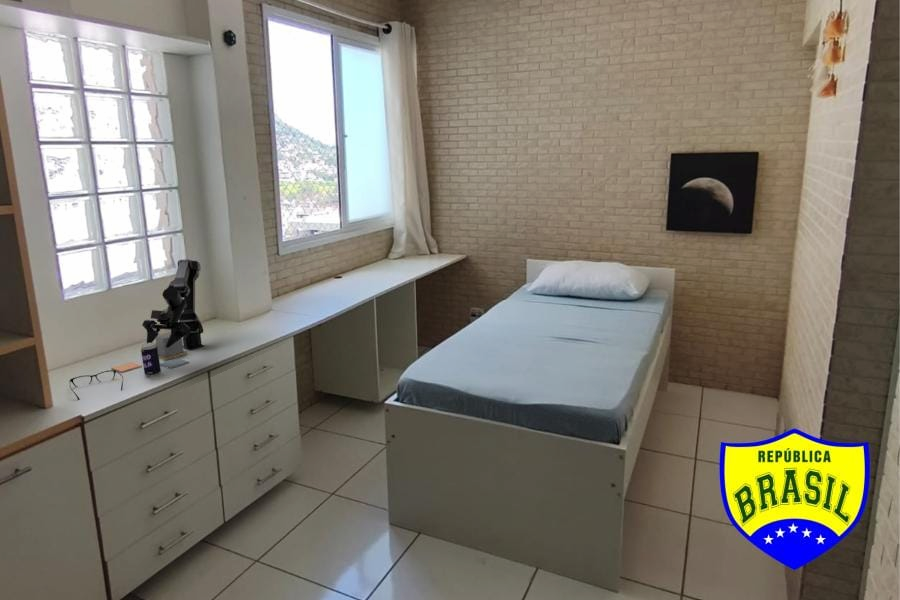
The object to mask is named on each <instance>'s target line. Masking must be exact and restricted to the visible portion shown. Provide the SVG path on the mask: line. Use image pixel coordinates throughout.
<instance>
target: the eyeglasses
mask: <svg viewBox="0 0 900 600" xmlns="http://www.w3.org/2000/svg"><path fill="white" fill-rule="evenodd" d="M108 372H112V373H113V377H112V379H111V381H112V380H114V379H115V377H116V374H119V375H120V376H121V377H122V379H124V377H123V375H122V373H120V372H118V371H116V370H113V369H111V370H105V371H101V372H98V373H96V374H91V375H79V376H75V377H73V378H70V380H69V382H68V383H72V385H74V387H75V388H78V387H79V386H78V385H76V384H75V382H74V380H75V379H78V378H83V377H90V381H89V383H88V385H90V384H91V383H92V382H93V378H94V377H95V379H96V381H97V382H98V381H99V383H101V382H102V381H101V380H100V379H99V378H98V376H99V375H100V374H103V373H108ZM123 385H124V380H122V381H121V387H120V391H121V390H122V391H123V387H124V386H123ZM69 388H70V389H71V392H73V394H74V395H75V397H76V398H77V400H78V401H80V399H81V398H79V396H78V394H77V393H76V392H75V391H74V390H73V388H72V386H71V385H69Z"/></svg>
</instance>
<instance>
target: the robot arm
mask: <svg viewBox="0 0 900 600" xmlns="http://www.w3.org/2000/svg"><path fill="white" fill-rule="evenodd" d="M201 268H202V267H201V263H200V262H199V261H198V260H191V259H179V260H177V270H176V273H175V277H174V279H173V280H171V281H170V282H169V284H168V287H167V288H165V289H164V290H163V292H162V297H163V299H164V301H165V303H166V305H168V306H167V308H165V309H163V310H155V309H153V310H152V309H151V314H150V319H145V320H143V323H142V325H141V326H142V327H143V328H144V329H145V330H146V334H147V335H146V343H154V341H155V340H156V339H155V338H156V337H157V336H159V334H160V332H161V330H166V331H167V330H169V331H170V332H171V335H170V337H169V339H168V342H167V344H166V347H167V348H169V347H170V346H171V345H173V344H174V343H175V342H177V341H178V340H179V339H181V338H182V343H183V349H186V350H194V349H198V348H201V347H204V346H205V345H204V344H202V336H201V334H203V333H204V327H203V324H202V322H201V320H200V317H199V316H198V315H197V313H196V281H197V279H198V278H199V277H200V272H201V270H202V269H201Z"/></svg>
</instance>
